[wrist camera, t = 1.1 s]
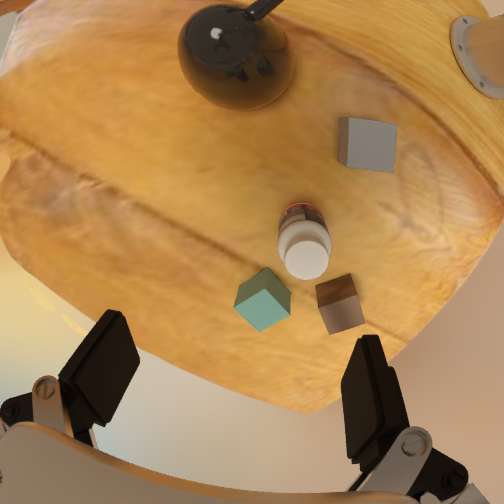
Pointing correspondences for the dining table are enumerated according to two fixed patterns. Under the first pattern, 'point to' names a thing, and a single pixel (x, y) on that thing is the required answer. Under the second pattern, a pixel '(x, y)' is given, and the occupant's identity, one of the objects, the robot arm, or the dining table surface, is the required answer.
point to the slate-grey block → (367, 144)
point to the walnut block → (339, 304)
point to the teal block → (263, 300)
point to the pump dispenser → (236, 54)
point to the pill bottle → (304, 241)
